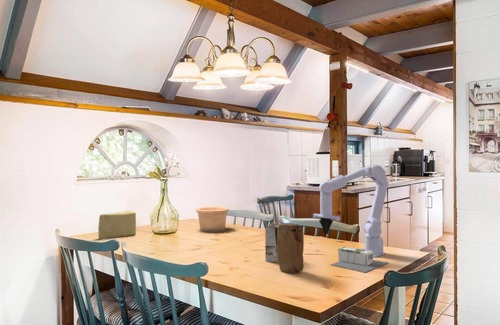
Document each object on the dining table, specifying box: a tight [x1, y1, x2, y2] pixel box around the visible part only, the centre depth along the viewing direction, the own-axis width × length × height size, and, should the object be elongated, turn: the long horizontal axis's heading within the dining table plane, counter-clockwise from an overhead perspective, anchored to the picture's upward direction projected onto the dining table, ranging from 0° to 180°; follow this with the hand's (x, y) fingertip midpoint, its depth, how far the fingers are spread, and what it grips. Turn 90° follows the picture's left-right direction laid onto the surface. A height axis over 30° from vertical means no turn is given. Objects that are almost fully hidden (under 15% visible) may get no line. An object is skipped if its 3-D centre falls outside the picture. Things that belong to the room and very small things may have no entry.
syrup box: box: [337, 246, 374, 266], centre depth 176 cm, size 6×6×14 cm
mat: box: [330, 259, 389, 274], centre depth 174 cm, size 20×17×1 cm
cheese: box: [97, 210, 137, 240], centre depth 242 cm, size 22×10×15 cm, turn 133°
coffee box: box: [264, 223, 279, 263], centre depth 183 cm, size 9×6×16 cm
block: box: [277, 222, 305, 274], centre depth 165 cm, size 11×8×20 cm
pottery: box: [195, 206, 229, 233], centre depth 262 cm, size 22×22×14 cm
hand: (326, 233), depth 191 cm, fingers closed
